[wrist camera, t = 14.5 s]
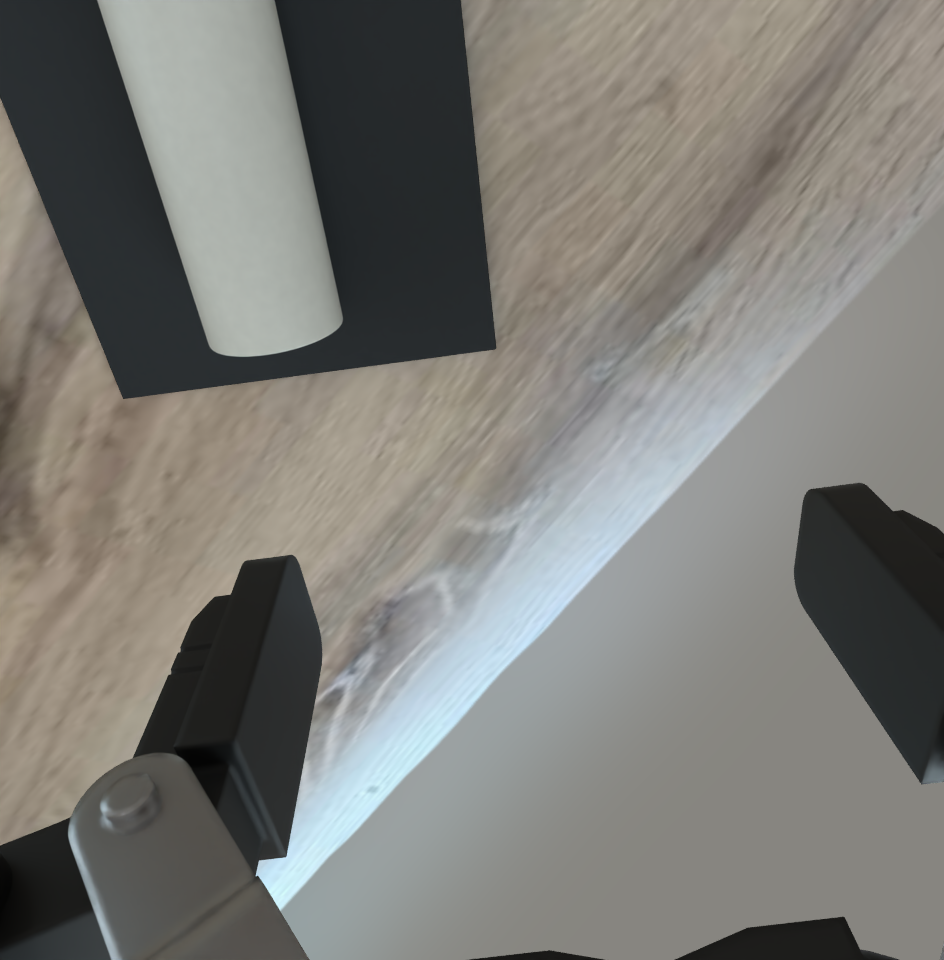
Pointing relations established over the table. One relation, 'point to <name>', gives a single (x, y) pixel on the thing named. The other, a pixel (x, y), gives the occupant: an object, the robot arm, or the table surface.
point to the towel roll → (230, 167)
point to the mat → (336, 174)
